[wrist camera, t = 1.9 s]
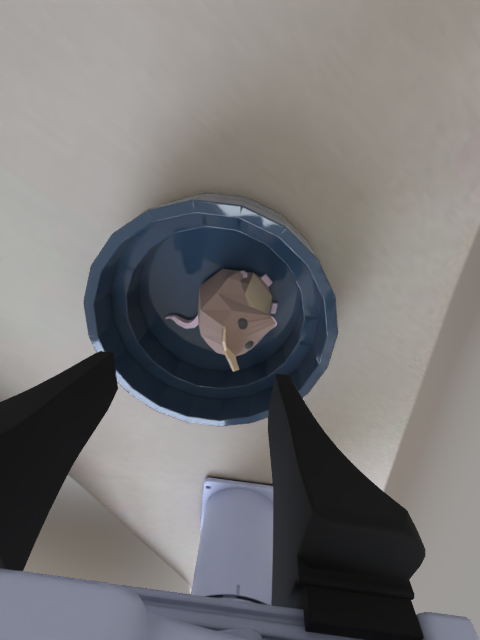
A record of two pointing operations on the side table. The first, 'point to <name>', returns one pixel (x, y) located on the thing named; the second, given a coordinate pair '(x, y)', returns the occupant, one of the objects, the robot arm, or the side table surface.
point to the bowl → (182, 300)
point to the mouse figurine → (233, 312)
